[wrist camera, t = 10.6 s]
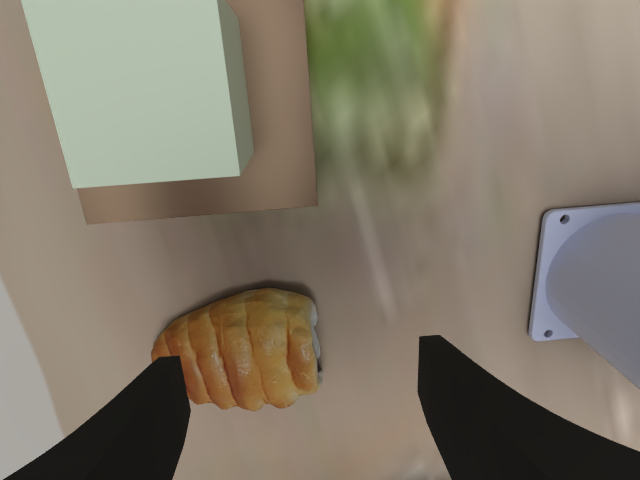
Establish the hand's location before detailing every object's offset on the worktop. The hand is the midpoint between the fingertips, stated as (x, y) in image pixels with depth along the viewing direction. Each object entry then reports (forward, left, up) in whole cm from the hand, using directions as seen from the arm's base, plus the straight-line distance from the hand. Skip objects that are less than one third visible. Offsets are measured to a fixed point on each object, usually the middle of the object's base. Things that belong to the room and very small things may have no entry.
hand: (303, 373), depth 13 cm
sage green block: (+4, -8, -7) cm, 12 cm away
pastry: (+3, +5, -11) cm, 13 cm away
